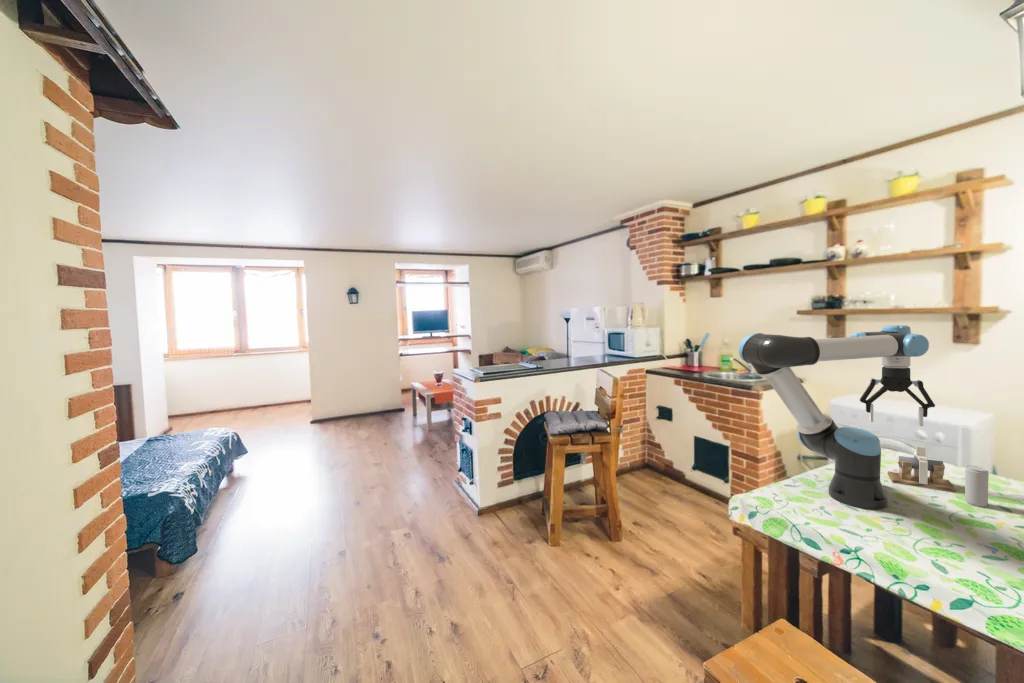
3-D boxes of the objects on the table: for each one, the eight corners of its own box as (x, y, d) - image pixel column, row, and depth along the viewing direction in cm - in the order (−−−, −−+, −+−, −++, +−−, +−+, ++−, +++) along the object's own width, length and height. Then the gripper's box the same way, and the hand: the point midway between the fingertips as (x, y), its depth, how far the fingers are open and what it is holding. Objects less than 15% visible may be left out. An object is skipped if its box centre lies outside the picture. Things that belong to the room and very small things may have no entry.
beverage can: (992, 507, 122) (993, 471, 122) (974, 507, 123) (975, 470, 123) (977, 500, 127) (978, 465, 126) (960, 500, 128) (960, 465, 127)
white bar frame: (919, 483, 139) (919, 450, 138) (913, 474, 146) (913, 442, 145) (927, 484, 137) (927, 450, 137) (921, 475, 144) (921, 443, 144)
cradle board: (892, 482, 143) (892, 461, 142) (887, 473, 150) (887, 453, 149) (956, 492, 133) (957, 469, 133) (948, 482, 140) (948, 461, 140)
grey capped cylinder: (899, 468, 143) (899, 457, 143) (896, 464, 146) (896, 454, 146) (945, 474, 136) (945, 463, 136) (942, 470, 139) (942, 459, 139)
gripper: (852, 366, 147) (852, 421, 149) (948, 369, 132) (946, 430, 134) (850, 364, 153) (850, 416, 155) (941, 366, 138) (940, 424, 140)
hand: (895, 423), depth 144 cm, fingers open, 12 cm apart
